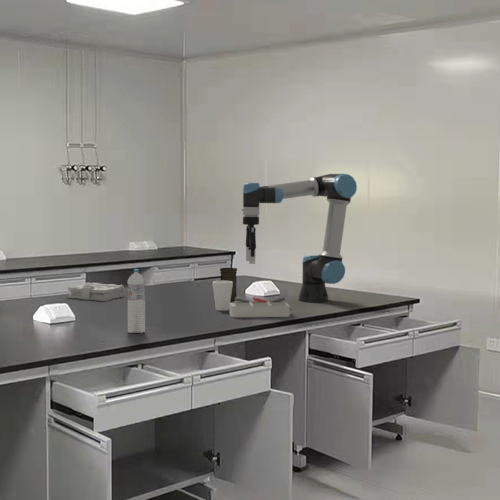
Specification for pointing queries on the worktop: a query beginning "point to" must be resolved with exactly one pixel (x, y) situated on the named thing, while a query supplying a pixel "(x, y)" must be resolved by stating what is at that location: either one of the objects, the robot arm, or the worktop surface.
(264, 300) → the plate
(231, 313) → the switch panel
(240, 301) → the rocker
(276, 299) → the rocker
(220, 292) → the foam cup
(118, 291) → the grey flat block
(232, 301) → the container
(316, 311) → the worktop surface
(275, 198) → the robot arm
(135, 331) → the water bottle
